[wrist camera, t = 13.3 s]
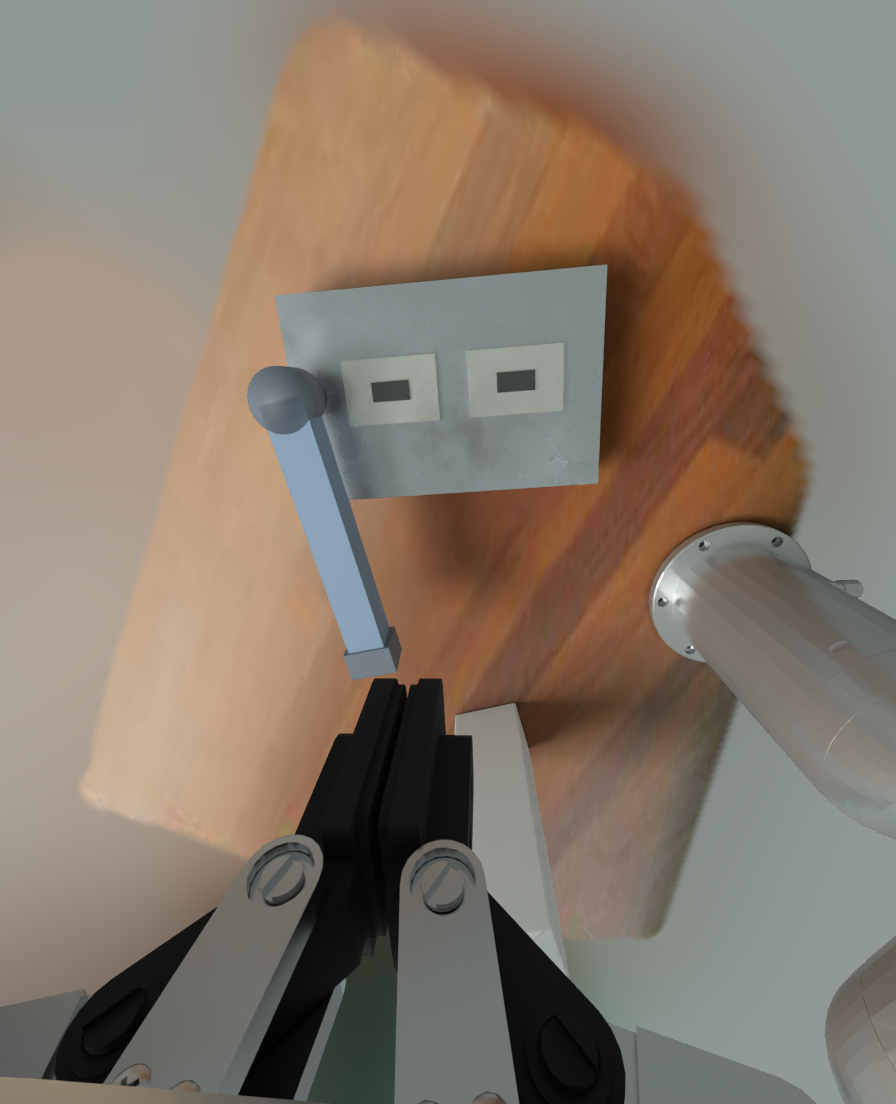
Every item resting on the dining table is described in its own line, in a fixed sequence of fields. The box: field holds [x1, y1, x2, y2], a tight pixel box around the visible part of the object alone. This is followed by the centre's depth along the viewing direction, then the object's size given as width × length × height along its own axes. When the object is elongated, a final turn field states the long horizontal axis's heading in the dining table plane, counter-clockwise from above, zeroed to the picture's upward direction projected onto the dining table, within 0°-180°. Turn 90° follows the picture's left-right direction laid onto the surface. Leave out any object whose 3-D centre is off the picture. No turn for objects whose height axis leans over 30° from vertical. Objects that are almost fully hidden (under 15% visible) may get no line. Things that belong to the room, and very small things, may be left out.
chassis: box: [275, 265, 607, 500], centre depth 30 cm, size 20×13×6 cm, turn 94°
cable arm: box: [247, 366, 402, 680], centre depth 29 cm, size 20×4×3 cm, turn 13°
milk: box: [455, 703, 570, 980], centre depth 34 cm, size 6×6×22 cm
